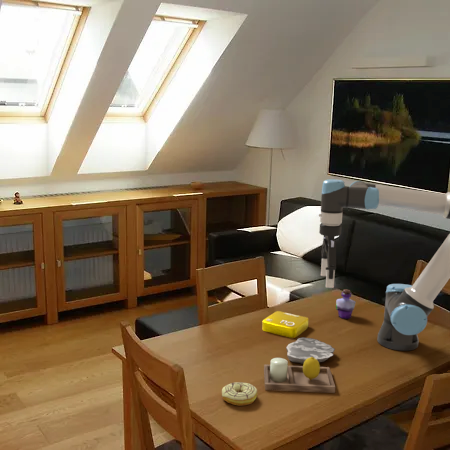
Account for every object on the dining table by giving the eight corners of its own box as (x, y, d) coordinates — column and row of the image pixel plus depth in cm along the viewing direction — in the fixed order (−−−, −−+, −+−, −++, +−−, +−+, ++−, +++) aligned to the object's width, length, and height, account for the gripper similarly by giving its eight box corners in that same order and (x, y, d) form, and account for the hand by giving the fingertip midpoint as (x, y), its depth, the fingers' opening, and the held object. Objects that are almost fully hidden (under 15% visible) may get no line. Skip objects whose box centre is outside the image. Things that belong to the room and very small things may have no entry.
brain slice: (329, 372, 197) (329, 363, 197) (280, 363, 203) (281, 355, 202) (338, 349, 216) (338, 342, 215) (293, 342, 221) (293, 335, 220)
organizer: (328, 372, 196) (329, 367, 196) (334, 392, 183) (335, 387, 182) (264, 369, 197) (264, 364, 197) (265, 389, 183) (265, 384, 183)
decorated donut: (228, 388, 184) (228, 377, 184) (260, 394, 181) (261, 383, 180) (217, 403, 175) (217, 392, 174) (251, 410, 171) (251, 398, 171)
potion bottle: (332, 313, 252) (333, 287, 250) (351, 313, 253) (353, 286, 251) (338, 320, 244) (340, 293, 241) (357, 320, 245) (360, 293, 242)
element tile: (309, 327, 237) (310, 316, 236) (294, 339, 224) (295, 328, 223) (276, 319, 244) (277, 309, 243) (260, 331, 232) (260, 319, 231)
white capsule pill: (286, 374, 193) (287, 358, 191) (287, 382, 187) (288, 365, 186) (269, 374, 193) (270, 357, 192) (270, 382, 187) (270, 364, 186)
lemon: (318, 384, 186) (320, 361, 185) (301, 382, 187) (303, 359, 186) (319, 376, 192) (320, 354, 190) (302, 375, 193) (304, 352, 191)
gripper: (315, 216, 216) (312, 271, 221) (324, 231, 192) (320, 292, 196) (336, 217, 216) (332, 271, 220) (347, 231, 191) (343, 292, 196)
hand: (327, 281), depth 208 cm, fingers open, 13 cm apart
